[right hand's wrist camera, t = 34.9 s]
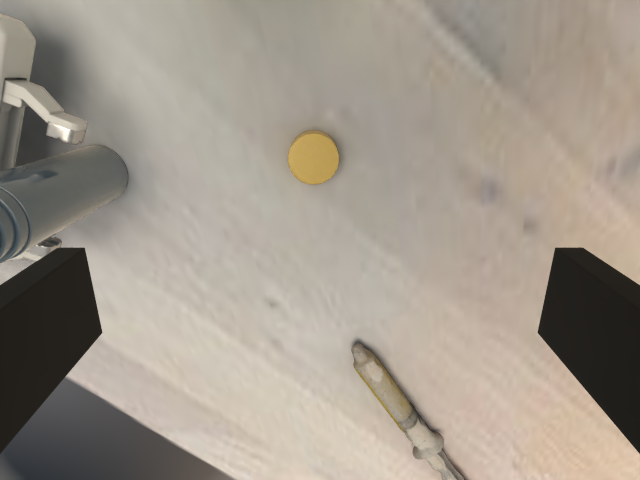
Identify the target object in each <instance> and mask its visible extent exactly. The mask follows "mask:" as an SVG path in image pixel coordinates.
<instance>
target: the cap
mask: <svg viewBox="0 0 640 480" xmlns="http://www.w3.org/2000/svg"><path fill="white" fill-rule="evenodd" d="M288 163H289V167H290V170H291V172H292V173H293V175H294V176H295V177H296V178H297V179H299V180H300V181H302V182H304V183H307V184H321V183H323V182H325V181H327V180H329V179H330V178H331V177H332V176H333V175H334V173H335V172H336V170H337V168H338V164H339V154H338V150H337V147H336V145H335V143H334V141H333V140H332V138H331V137H330V136H328V135H327V134H326V133H324V132H321V131H317V130H310V131H306V132H303V133H301V134H300V135H299V136H297V137H296V138H295V140H294V141H293V143H292V145H291V148H290V150H289V154H288Z"/></svg>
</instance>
